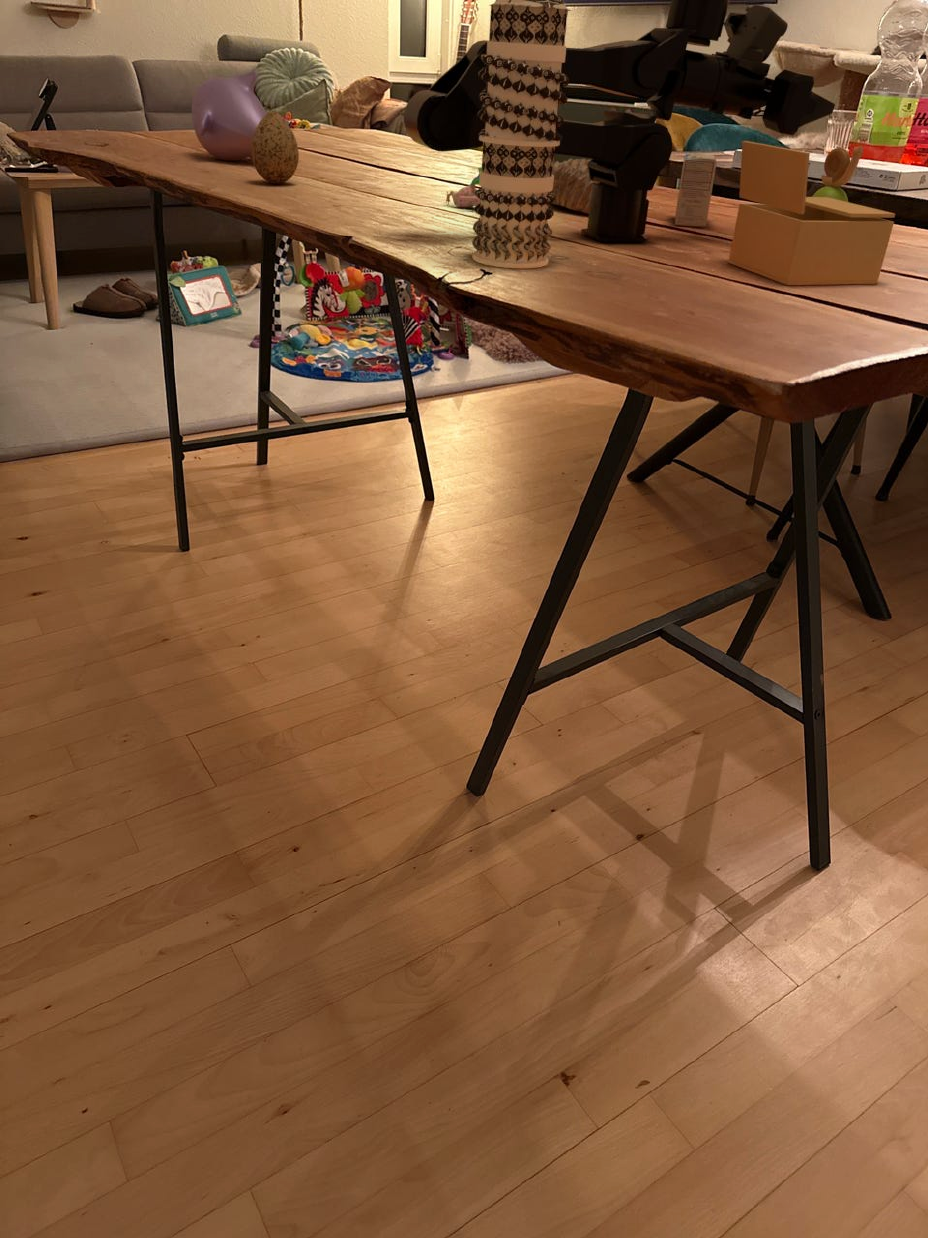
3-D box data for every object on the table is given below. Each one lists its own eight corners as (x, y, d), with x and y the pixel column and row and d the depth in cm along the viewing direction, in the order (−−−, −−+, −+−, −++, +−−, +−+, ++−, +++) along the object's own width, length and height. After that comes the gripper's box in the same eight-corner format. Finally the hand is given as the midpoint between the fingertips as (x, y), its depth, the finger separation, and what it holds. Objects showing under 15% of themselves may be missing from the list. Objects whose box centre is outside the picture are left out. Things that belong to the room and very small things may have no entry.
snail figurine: (829, 230, 135) (851, 137, 129) (796, 222, 140) (817, 132, 134) (855, 229, 138) (879, 138, 131) (823, 221, 142) (844, 133, 136)
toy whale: (217, 155, 178) (243, 68, 172) (296, 196, 166) (327, 104, 160) (156, 129, 167) (182, 35, 161) (236, 170, 155) (267, 71, 149)
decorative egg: (254, 186, 142) (249, 111, 136) (251, 179, 148) (247, 108, 142) (301, 187, 143) (299, 113, 138) (297, 181, 149) (295, 110, 144)
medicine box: (705, 228, 130) (718, 159, 126) (673, 225, 131) (684, 157, 126) (704, 220, 137) (716, 154, 132) (674, 217, 138) (684, 152, 133)
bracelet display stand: (455, 252, 105) (468, -15, 92) (528, 251, 108) (550, -8, 95) (489, 270, 98) (507, -17, 85) (566, 267, 101) (595, -9, 88)
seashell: (648, 194, 136) (622, 128, 130) (606, 234, 134) (577, 168, 128) (584, 199, 147) (557, 139, 141) (544, 236, 145) (515, 176, 139)
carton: (787, 285, 100) (803, 212, 96) (728, 262, 109) (740, 195, 105) (877, 283, 103) (896, 213, 99) (812, 261, 113) (827, 196, 109)
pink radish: (438, 215, 135) (512, 213, 125) (435, 170, 133) (511, 163, 123) (469, 213, 139) (544, 210, 129) (467, 168, 137) (543, 162, 126)
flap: (804, 213, 96) (801, 214, 96) (742, 196, 106) (739, 197, 105) (809, 152, 93) (806, 152, 93) (745, 140, 102) (742, 140, 102)
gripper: (772, 12, 101) (885, 37, 106) (691, -5, 115) (795, 18, 120) (736, 126, 107) (845, 144, 113) (664, 96, 121) (764, 113, 127)
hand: (811, 101), depth 118 cm, fingers open, 9 cm apart
